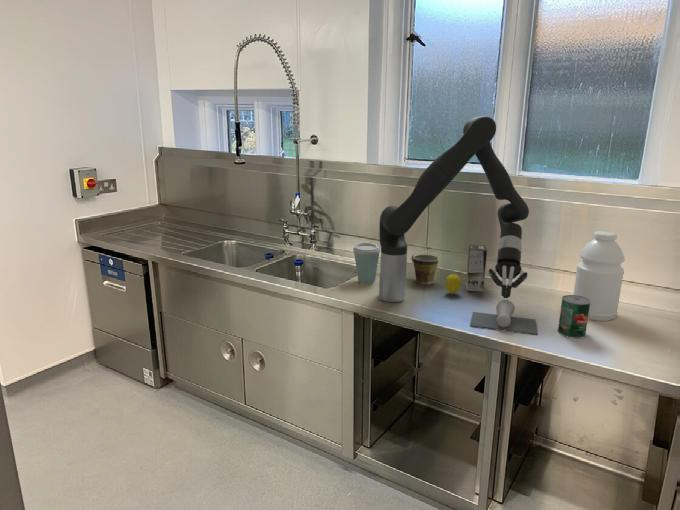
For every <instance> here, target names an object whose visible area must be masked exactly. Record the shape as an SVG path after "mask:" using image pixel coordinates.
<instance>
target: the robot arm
mask: <svg viewBox="0 0 680 510" xmlns="http://www.w3.org/2000/svg"><path fill="white" fill-rule="evenodd" d="M496 132H497V123H496V121H495V120H494V119H493V118H492V117H490V116H487V115H482V116H480V115H479V116H476V117H473V118H470V119H469V120H467V121H466V122H465V123H464V126H463V129H462V134H463V135H462V136H461V137H460V138H459V140H458V141H457V142H455V144H453V145H452V146H450V148H448V149H447V150H446V151H444V152H443V153H441V154H440V155H439V156H438V157H436V158H435V159H434V160H433V161H432V162H431V163H430V165H428V166H427V167H426V169H425V170H424V171H423V172H422V174H420V176H419V178H418V180H417V181H416V184H415V187H414V188H413V190H412V191H411V193H410V195H409V196H408V198H406V200H404V201H403V202H402V203H401V204H400V206H397V205H389V206H387V207H385V208H384V209H383V210H382V212H381V214H380V216H379V245H380V268H379V269H380V271H379V281H378V282H379V283H378V284H379V285H378V286H379V287H378V288H379V289H378V300H379V301H384V302H388V303H400V302H403V301H405V298H406V283H407V281H406V280H407V257H408V245H407V242H406V238H405V237H406V236H405V234H406V233H408V232H409V230H410V229H411V228H412V227H413V225H414V224H415V222H417V220H418V219H419V217H420V216H421V215H422V213H423V212H424V211H425V210H426V209H427V208H428V207H429V205H431V204H432V202H433V201H434V200H435V199H436V198H437V197H438V196H439V195H440V194H441V193H442V192H443V191H444V190H445V189H446V188H447V187H448V186H449V184H451V182H452V181H453V180H454V179H455V178H456V176H457V175H458V174H459V173H460V172H461V171H462V169H464V167H465V166H466V165H467V163H468V162H469V161H470V160H471V159H472V158H473V157H474V156H476V158H477V160H478V162H479V164H480V166H481V168H482V169H483V172H484V174H485V176H486V178H487V181H488V183H489V186H490V188H491V191H492V192H493V195H494V197H495V199H496V200H498V201H501V200H502V201H504V200H505V201H508V202H509V203H505V204H502V205H500V207H499V208H498V209H497V213H496V214H497V218H498V222H499V227H500V237H499V241H498V249H497V259H496V264H495V266H494V267H493V268H489V269H488V275H489V277H490V278H491V280H492V281H493V283H494V284H495V285H496V286H497V287H501V297H503V298H502V299H506V300H509V299H508V298H510V297H511V292H512V289H513V288H514V289H516V288H518V287H519V286H520V285H521V284H522V283H523V282H524V281H525V280H526V279H527V278H528V272H526V271H524V270H522V266H521V259H522V236H523V227H522V226H521V225H520V224H518V223H517V222H519V221H524V220H526V219H527V218H528V217H529V214H530V210H529V206H528V204H527V202H526V201H525V200H524V199H523V198H522V197H521V195H520V193H518V191H517V190H516V189H515V186H514V184H513V182H512V180H511V177H510V175H509V173H508V170H507V169H506V167H505V166H504V164H503V163H502V162H501V160H500V159H499V158H498V156H497V155H496V153H495V151H494V149H493V146H492V144H491V141H492V140H493V139H494V137H495V136H496ZM497 274H498V275H497ZM518 276H519V277H518ZM499 277H500V278H501V279H500V278H499ZM516 278H517V279H516ZM514 279H515V280H514ZM513 280H514V281H513Z"/></svg>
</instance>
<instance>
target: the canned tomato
mask: <svg viewBox="0 0 680 510" xmlns="http://www.w3.org/2000/svg"><path fill="white" fill-rule="evenodd" d="M589 308H590V300H589V299H587V298H585V297H582V296H577V295H574V294H567V295H566V294H565V295H563V296H562V297H561V307H560V312H559V321H558V328H557V331H558V334H560V335H561V334H562V336H563V335H564V336H563V337H566V336H568V337H567V338H570V337H573V338H572V339H582V337H583V338H584V337H586V334H587V333H586V332H587V328H588V320H589V319H588V314H589Z"/></svg>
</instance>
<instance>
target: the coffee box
mask: <svg viewBox="0 0 680 510" xmlns="http://www.w3.org/2000/svg"><path fill="white" fill-rule="evenodd" d="M487 253H488V249H487V247H486V245H485V244H468V252H467V262H466V263H467V266H466V279H465V281H466V282H465V287H466V291H469V292H479V293H480V292H481V293H482V292H484V286H485V279H486V278H485V276H486V275H485V274H486V265H487V256H488V255H487Z"/></svg>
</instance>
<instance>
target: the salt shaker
mask: <svg viewBox="0 0 680 510" xmlns="http://www.w3.org/2000/svg"><path fill="white" fill-rule="evenodd" d="M495 309H496V313H497V314H496V315H498V317H497V320H496V321H497V324H498V325H499V326H500V327H503V328H505V327H508V326H509V325H510V323H511V316H513V315H514V313H515V305H514V303H513V302H512V301H511V300H509V299H502V300H499V301H498V303H497V304H496V306H495Z"/></svg>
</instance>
